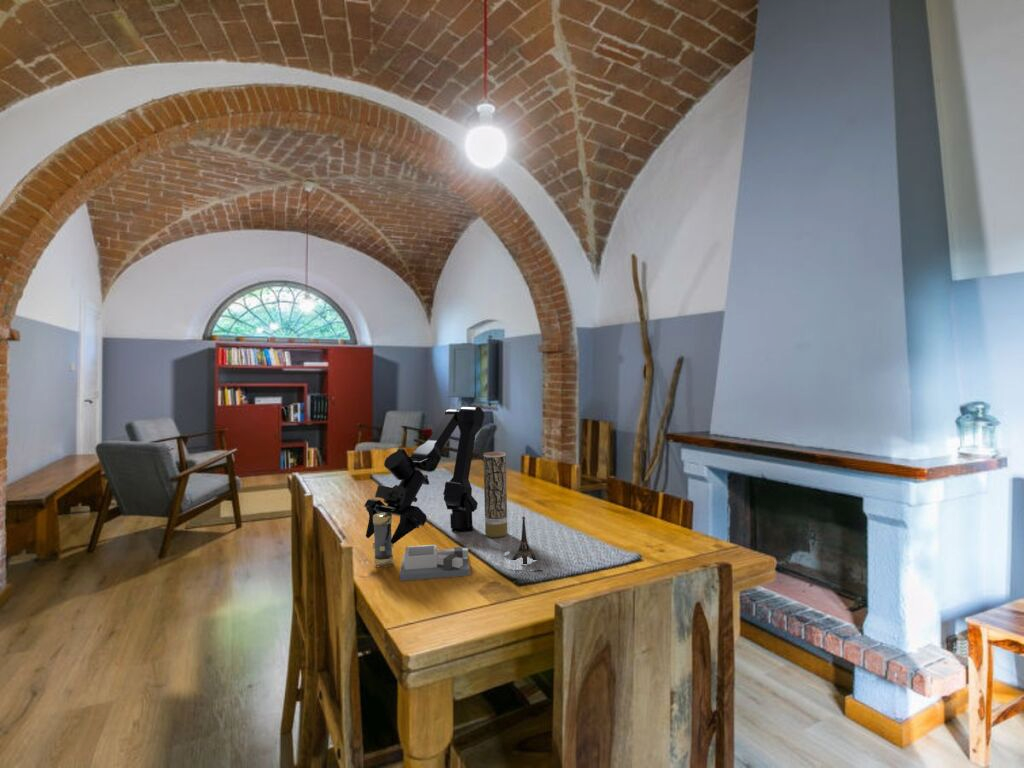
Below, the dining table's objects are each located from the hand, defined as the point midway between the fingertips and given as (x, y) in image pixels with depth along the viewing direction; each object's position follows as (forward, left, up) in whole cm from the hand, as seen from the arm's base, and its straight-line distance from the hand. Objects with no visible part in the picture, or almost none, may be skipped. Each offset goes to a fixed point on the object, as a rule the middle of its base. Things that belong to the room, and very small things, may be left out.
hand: (379, 540), depth 133 cm
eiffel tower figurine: (-37, +4, -7) cm, 38 cm away
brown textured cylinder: (-33, -18, -7) cm, 38 cm away
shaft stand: (-14, +4, -7) cm, 16 cm away
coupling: (-1, -1, -7) cm, 7 cm away
